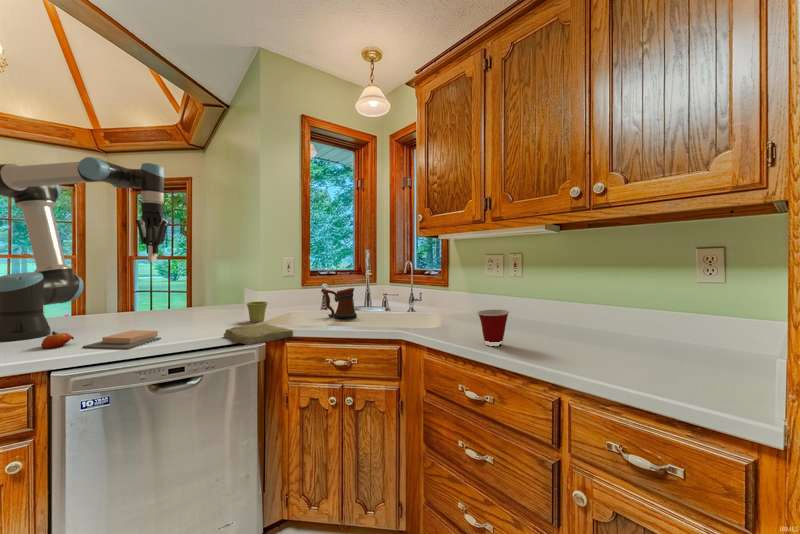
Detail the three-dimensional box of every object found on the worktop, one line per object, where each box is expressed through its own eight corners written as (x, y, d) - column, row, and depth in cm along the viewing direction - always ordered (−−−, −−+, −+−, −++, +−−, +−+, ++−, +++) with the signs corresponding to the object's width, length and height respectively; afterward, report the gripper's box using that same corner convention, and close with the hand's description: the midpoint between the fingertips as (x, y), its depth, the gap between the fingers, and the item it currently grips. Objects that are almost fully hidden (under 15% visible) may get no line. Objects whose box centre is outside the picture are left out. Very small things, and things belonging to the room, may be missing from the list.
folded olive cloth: (264, 330, 146) (264, 321, 146) (294, 337, 134) (294, 328, 134) (219, 338, 132) (219, 329, 132) (247, 347, 119) (247, 336, 119)
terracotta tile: (132, 335, 131) (102, 343, 119) (132, 330, 130) (102, 337, 118) (157, 336, 130) (130, 344, 118) (157, 330, 130) (130, 338, 118)
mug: (317, 319, 171) (317, 288, 171) (324, 315, 183) (324, 286, 182) (354, 319, 170) (354, 288, 169) (359, 315, 181) (359, 286, 181)
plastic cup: (474, 340, 129) (474, 308, 128) (504, 341, 128) (504, 308, 128) (480, 348, 118) (480, 313, 118) (512, 349, 118) (513, 313, 117)
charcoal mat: (82, 347, 115) (82, 346, 115) (120, 338, 129) (120, 336, 129) (128, 349, 114) (128, 347, 114) (161, 339, 127) (161, 337, 127)
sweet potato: (68, 337, 123) (70, 324, 120) (77, 352, 121) (78, 339, 118) (37, 345, 116) (37, 331, 113) (45, 361, 114) (46, 347, 111)
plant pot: (272, 320, 165) (272, 302, 165) (254, 324, 158) (254, 304, 157) (259, 318, 171) (259, 301, 170) (241, 321, 163) (241, 303, 162)
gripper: (174, 204, 145) (174, 262, 145) (144, 204, 146) (144, 261, 146) (161, 201, 137) (160, 262, 138) (129, 201, 138) (129, 261, 139)
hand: (152, 261), depth 142 cm, fingers closed
